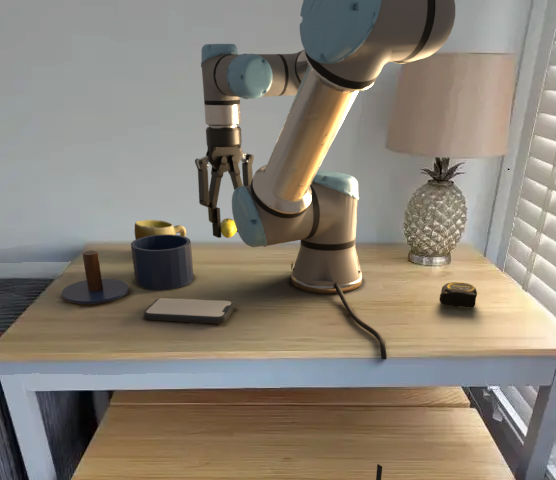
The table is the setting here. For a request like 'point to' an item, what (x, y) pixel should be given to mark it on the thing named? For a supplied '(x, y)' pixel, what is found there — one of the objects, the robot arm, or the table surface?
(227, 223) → the lemon
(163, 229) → the mug
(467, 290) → the tape measure
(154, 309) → the phone case
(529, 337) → the table surface
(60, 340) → the table surface
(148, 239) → the tin
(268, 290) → the table surface
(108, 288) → the lid
